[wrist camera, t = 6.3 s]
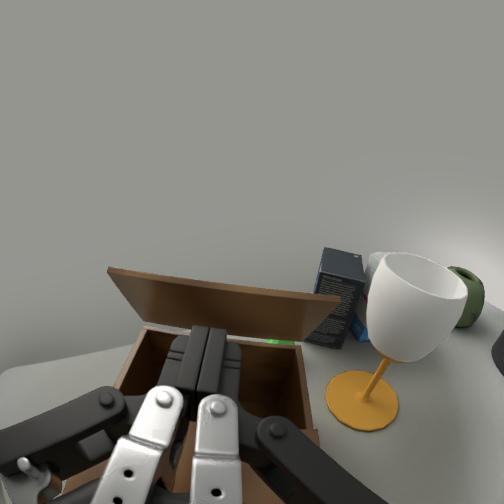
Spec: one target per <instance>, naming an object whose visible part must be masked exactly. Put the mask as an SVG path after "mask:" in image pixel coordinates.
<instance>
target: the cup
mask: <svg viewBox="0 0 504 504" xmlns="http://www.w3.org/2000/svg"><path fill="white" fill-rule="evenodd" d="M467 297H468V289H467V287H466V285H465V284H464V282H463V281H462V280H461V279H460V278H459V277H458V276H457V275H456V274H455V273H453V272H452V271H451V270H449V269H447V268H446V267H444V266H442V265H440V264H439V263H437V262H434V261H432V260H429V259H427V258H425V257H422V256H418V255H414V254H411V253H404V252H393V253H387V254H386V255H385V256H384V257H383V258H382V259H381V262H380V264H379V266H378V268H377V270H376V272H375V273H374V275H373V279H372V283H371V287H370V290H369V294H368V303H367V313H366V315H367V329H368V337H369V339H370V341H371V343H372V344H373V346H374V347H375V349H376V351H377V352H378V353H379V354H380V355H381V356H382V357H383V360H382V362H381V364H380V365H379V367H378V369H377V371H376V372H375V374H372V373H369V372H364V371H360V370H355V371H345V372H343V373H341V374H339V375H337V376H335V377H334V378H333V379H332V380H331V382H330V383H329V384H328V386H327V391H326V396H325V397H326V401H327V404H328V407H329V410H330V411H331V412H332V413H333V415H334V416H335V417H336V418H337V419H338V420H339V421H340V422H342V423H343V424H345V425H347V426H349V427H351V428H353V429H357V430H363V431H373V430H377V429H382V428H384V427H385V426H387V425H388V424H389V423H390V422H392V421H393V420H394V418H395V416H396V414H397V411H398V398H397V396H396V394H395V392H394V390H393V388H392V387H391V386H390V385H389V384H388V383H387V382H386V381H385V380H384V379H382V378H381V377H382V375H383V373H384V372H385V370H386V368H387V366H388V365H389V363H390V361H391V362H395V363H408V362H415V361H418V360H420V359H421V358H423V357H425V356H426V355H428V354H429V353H431V352H432V351H433V350H434V349H436V348H437V347H438V346H439V345H440V344H441V343H442V342H443V341H444V340H445V339H446V338H447V337H448V335H449V334H450V333H451V332H452V330H453V329H454V327H455V325H456V324H457V322H458V321H459V319H460V317H461V316H462V313H463V310H464V307H465V303H466V300H467Z"/></svg>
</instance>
